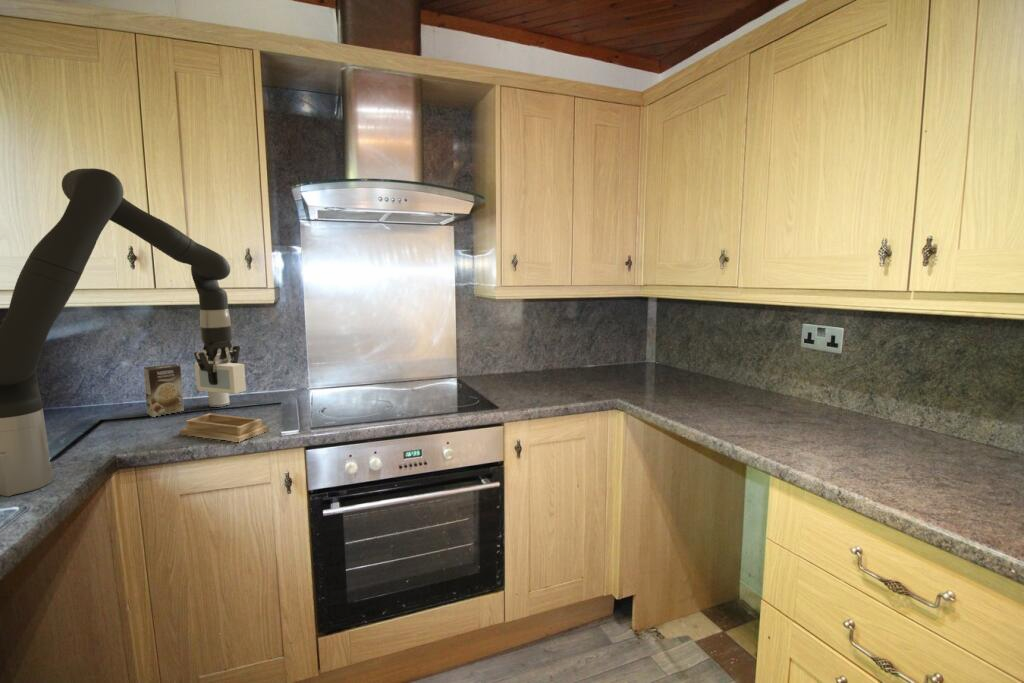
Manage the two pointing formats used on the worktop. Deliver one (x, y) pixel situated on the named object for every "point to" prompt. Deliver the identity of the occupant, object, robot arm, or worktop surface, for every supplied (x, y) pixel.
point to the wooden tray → (224, 427)
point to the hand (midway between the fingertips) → (220, 382)
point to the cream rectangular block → (223, 378)
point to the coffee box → (163, 389)
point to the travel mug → (218, 398)
